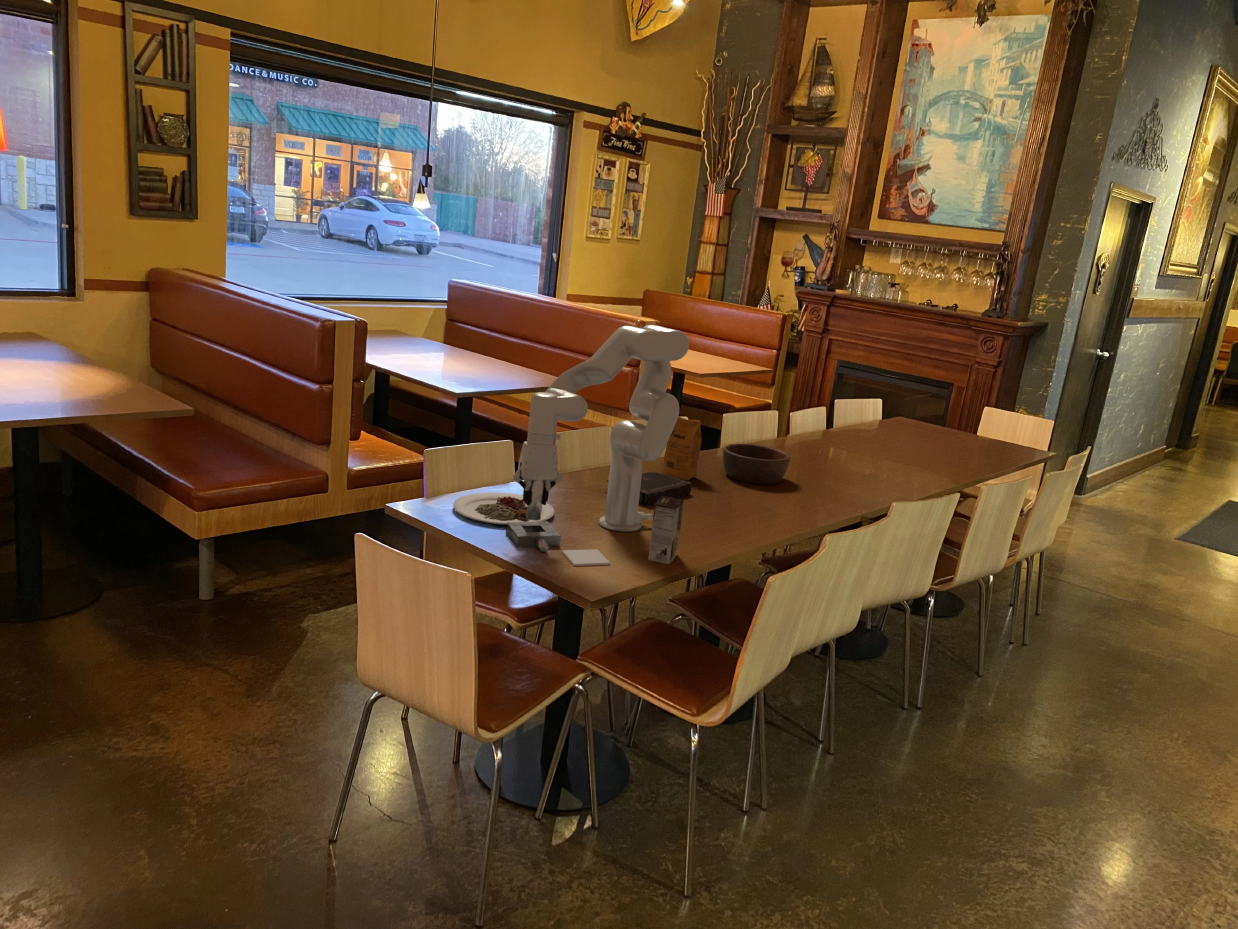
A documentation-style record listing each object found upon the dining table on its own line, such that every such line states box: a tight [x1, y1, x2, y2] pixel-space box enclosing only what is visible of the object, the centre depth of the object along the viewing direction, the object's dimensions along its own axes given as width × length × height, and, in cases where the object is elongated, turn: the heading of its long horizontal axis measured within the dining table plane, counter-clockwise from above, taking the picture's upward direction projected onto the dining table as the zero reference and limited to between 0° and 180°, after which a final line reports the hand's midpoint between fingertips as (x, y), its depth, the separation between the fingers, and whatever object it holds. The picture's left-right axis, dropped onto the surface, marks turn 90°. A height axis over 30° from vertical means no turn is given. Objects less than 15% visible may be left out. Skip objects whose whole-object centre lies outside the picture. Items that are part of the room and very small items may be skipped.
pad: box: [561, 548, 611, 567], centre depth 249 cm, size 10×10×1 cm
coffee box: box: [647, 496, 685, 565], centre depth 255 cm, size 9×6×16 cm
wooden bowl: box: [722, 443, 791, 486], centre depth 352 cm, size 25×25×10 cm
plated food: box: [452, 492, 555, 526], centre depth 280 cm, size 30×30×3 cm
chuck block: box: [505, 520, 562, 553], centre depth 257 cm, size 12×17×3 cm
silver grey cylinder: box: [526, 479, 545, 520], centre depth 257 cm, size 4×4×12 cm
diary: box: [605, 471, 692, 507], centre depth 316 cm, size 19×25×5 cm
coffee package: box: [661, 416, 702, 481], centre depth 341 cm, size 10×12×22 cm
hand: (535, 503), depth 257 cm, fingers closed on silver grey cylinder, 4 cm apart
